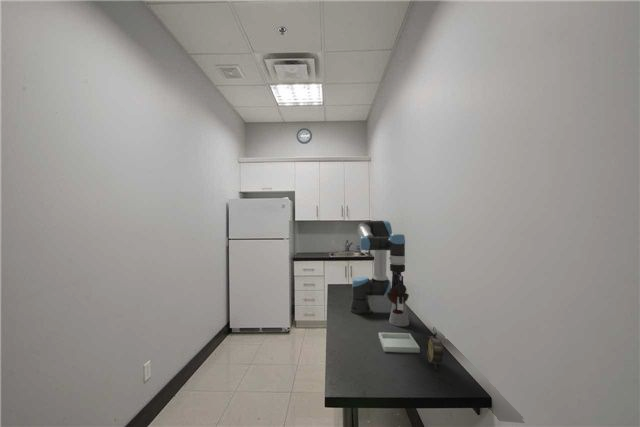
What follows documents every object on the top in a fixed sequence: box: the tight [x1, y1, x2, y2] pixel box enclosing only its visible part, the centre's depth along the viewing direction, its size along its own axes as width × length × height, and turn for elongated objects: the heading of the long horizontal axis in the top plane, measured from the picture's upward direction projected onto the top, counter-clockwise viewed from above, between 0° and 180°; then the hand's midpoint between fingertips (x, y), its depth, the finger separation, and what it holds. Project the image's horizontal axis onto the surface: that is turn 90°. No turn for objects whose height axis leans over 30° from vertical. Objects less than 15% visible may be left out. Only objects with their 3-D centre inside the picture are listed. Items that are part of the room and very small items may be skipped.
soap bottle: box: [388, 290, 410, 328], centre depth 170 cm, size 12×12×20 cm
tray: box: [378, 332, 421, 354], centre depth 139 cm, size 17×17×2 cm
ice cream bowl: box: [386, 284, 410, 314], centre depth 140 cm, size 11×11×15 cm
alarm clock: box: [425, 326, 445, 370], centre depth 120 cm, size 11×5×16 cm, turn 174°
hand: (397, 306), depth 140 cm, fingers closed on ice cream bowl, 11 cm apart
